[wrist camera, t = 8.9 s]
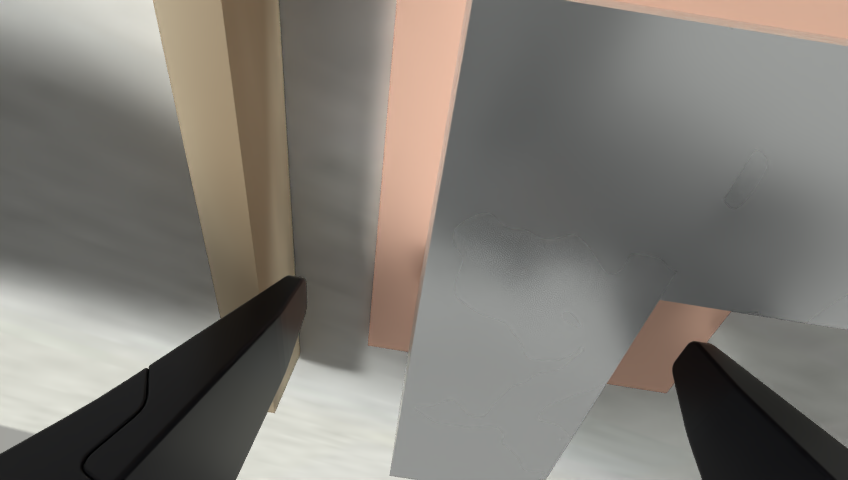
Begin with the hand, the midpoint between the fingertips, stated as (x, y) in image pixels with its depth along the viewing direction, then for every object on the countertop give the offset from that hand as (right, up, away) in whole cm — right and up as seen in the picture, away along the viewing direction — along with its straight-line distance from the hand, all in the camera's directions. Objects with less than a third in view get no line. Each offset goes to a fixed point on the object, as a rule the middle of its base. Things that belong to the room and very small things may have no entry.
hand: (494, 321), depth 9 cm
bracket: (+3, +3, +2) cm, 4 cm away
